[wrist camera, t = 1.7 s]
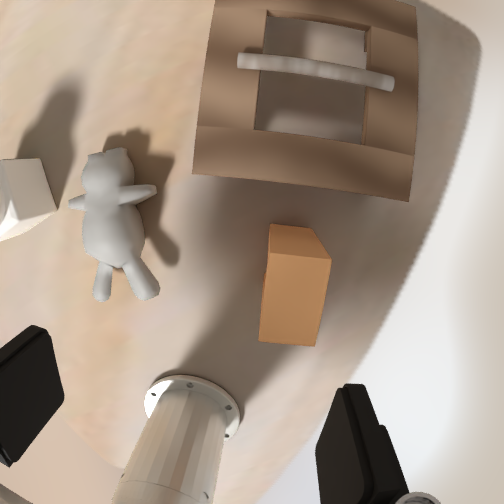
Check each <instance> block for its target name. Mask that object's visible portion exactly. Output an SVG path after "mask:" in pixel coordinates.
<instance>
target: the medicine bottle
mask: <svg viewBox="0 0 504 504" xmlns="http://www.w3.org/2000/svg"><path fill="white" fill-rule="evenodd" d="M56 211H57V208H56V205H55V202H54V199H53V196H52V194H51V191H50V188H49V185H48V182H47V179H46V175H45V172H44V169H43V166H42V162H41V159H40V158H24V159H2V160H0V241H3V240H6V239H8V238H11V237H14V236H17V235H20V234H23V233H25V232H26V231H28V230H29V229H31V228H32V227H34V226H35V225H37V224H38V223H40V222H41V221H43V220H44V219H46V218H47V217H49V216H50V215H52V214H53V213H55V212H56Z"/></svg>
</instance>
